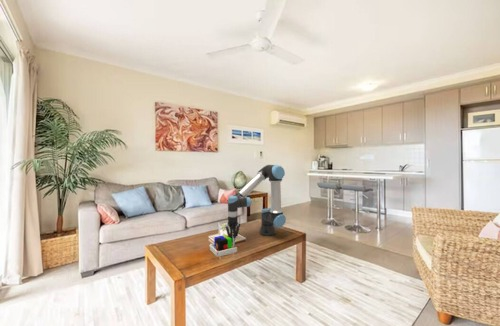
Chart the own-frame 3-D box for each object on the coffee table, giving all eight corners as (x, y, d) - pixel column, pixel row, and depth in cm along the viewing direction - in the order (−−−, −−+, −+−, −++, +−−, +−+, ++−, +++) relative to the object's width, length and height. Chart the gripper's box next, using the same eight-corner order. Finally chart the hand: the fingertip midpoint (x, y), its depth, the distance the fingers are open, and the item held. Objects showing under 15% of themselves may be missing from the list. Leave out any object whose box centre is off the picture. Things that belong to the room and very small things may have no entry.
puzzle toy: (214, 250, 167) (214, 237, 167) (226, 247, 172) (226, 234, 172) (219, 255, 159) (219, 241, 158) (231, 252, 164) (231, 238, 164)
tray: (227, 244, 177) (227, 240, 177) (236, 252, 164) (236, 247, 164) (209, 249, 169) (209, 244, 169) (217, 257, 155) (217, 252, 155)
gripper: (237, 213, 177) (237, 242, 177) (223, 216, 170) (223, 245, 171) (242, 216, 170) (242, 245, 171) (227, 218, 163) (227, 249, 164)
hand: (232, 245), depth 171 cm, fingers closed
